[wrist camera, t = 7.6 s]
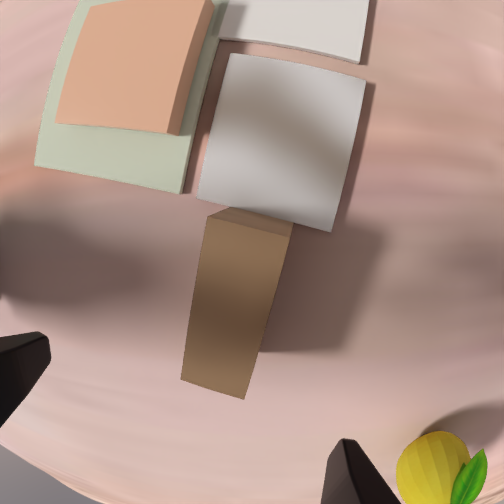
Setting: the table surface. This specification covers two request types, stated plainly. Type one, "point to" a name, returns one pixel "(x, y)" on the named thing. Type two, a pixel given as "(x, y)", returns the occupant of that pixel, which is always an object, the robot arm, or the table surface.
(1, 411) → the robot arm
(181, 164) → the felt mat
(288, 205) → the turner
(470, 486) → the lemon
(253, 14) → the tool pad
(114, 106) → the tile
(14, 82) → the table surface
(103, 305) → the table surface
